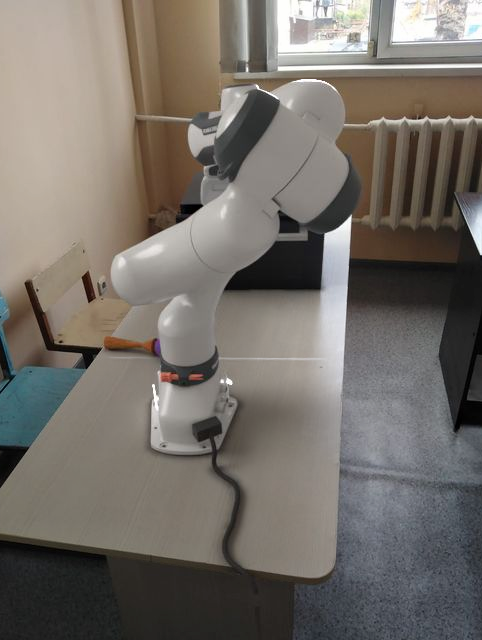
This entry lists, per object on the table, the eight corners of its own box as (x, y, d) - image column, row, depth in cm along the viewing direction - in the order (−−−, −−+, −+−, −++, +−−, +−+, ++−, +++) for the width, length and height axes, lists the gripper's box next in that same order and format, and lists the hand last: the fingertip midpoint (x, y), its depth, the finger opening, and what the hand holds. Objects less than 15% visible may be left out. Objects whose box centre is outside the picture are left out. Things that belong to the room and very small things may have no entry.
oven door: (321, 302, 156) (327, 227, 137) (185, 302, 160) (172, 229, 141) (320, 286, 161) (325, 211, 142) (188, 287, 165) (176, 214, 146)
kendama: (112, 327, 140) (182, 332, 133) (115, 349, 142) (184, 355, 135) (99, 335, 134) (171, 341, 128) (102, 357, 137) (173, 364, 130)
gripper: (290, 158, 121) (290, 217, 129) (200, 161, 124) (205, 219, 131) (290, 166, 116) (290, 227, 124) (196, 169, 118) (202, 229, 126)
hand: (246, 223), depth 128 cm, fingers closed
